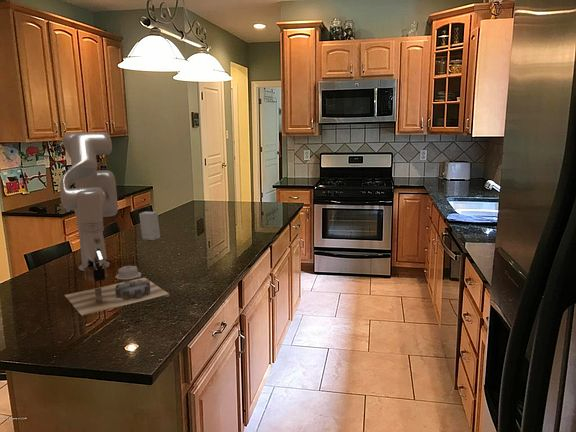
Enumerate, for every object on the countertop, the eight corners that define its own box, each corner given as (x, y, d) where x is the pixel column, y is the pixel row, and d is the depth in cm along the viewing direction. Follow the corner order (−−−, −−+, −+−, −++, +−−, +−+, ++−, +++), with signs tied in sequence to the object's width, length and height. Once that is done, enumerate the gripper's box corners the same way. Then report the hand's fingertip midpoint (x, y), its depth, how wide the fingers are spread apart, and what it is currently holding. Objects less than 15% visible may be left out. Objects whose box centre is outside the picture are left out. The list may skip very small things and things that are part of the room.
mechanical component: (146, 277, 190) (132, 272, 196) (145, 267, 189) (131, 262, 196) (124, 284, 183) (110, 279, 189) (123, 273, 182) (109, 268, 188)
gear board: (64, 297, 169) (62, 283, 168) (145, 279, 187) (143, 266, 185) (82, 318, 150) (80, 302, 149) (169, 296, 168) (168, 282, 167)
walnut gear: (104, 273, 164) (103, 263, 164) (110, 278, 159) (109, 268, 158) (83, 277, 160) (82, 267, 160) (88, 282, 155) (87, 272, 154)
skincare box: (160, 238, 255) (158, 211, 252) (153, 240, 249) (151, 213, 247) (148, 236, 258) (146, 210, 255) (140, 239, 253) (138, 212, 250)
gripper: (111, 229, 152) (115, 281, 155) (95, 221, 165) (100, 269, 169) (86, 232, 147) (92, 286, 151) (73, 224, 161) (78, 274, 164)
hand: (96, 277), depth 160 cm, fingers closed on walnut gear, 7 cm apart
